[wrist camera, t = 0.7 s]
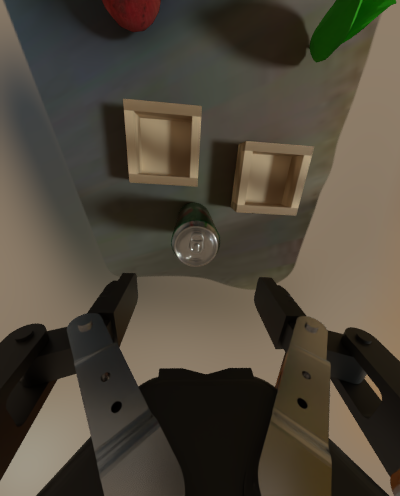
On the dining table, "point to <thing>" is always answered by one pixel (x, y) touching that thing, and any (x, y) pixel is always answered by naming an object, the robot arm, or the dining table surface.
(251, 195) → the oak endcap
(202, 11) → the dining table surface
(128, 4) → the onion
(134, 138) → the oak endcap
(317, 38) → the flower
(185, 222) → the soda can
